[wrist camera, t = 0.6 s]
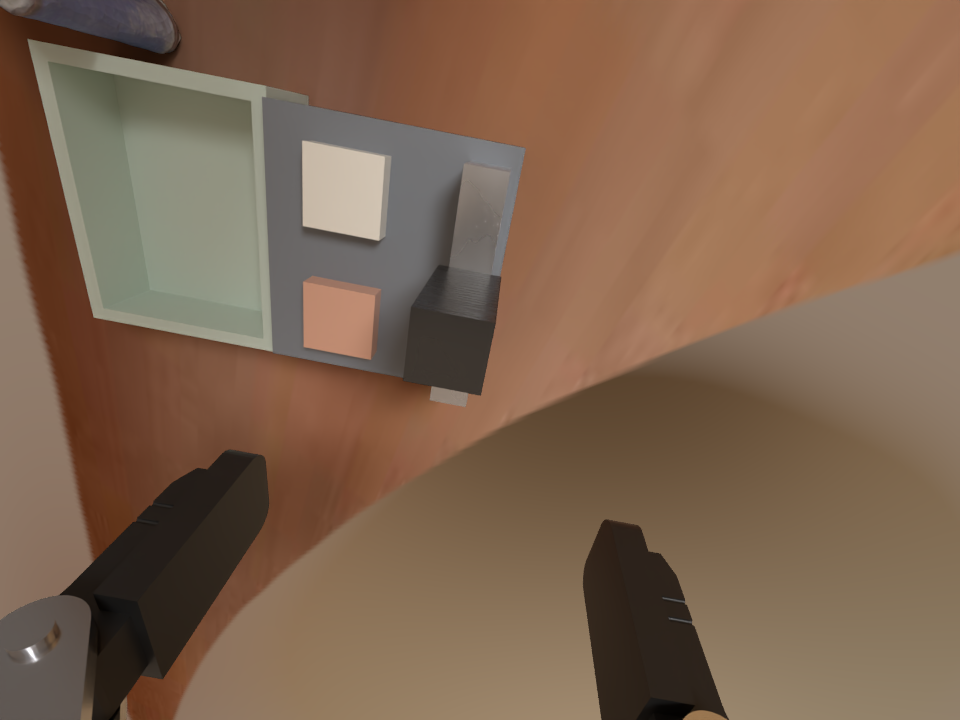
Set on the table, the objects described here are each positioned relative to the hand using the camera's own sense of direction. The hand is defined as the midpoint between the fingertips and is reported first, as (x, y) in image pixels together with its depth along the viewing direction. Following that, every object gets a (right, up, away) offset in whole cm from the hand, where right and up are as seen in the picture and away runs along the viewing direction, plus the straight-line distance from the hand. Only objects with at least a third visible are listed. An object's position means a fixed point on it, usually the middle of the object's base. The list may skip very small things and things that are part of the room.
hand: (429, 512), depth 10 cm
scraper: (+1, +8, +14) cm, 16 cm away
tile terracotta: (-7, +6, +16) cm, 18 cm away
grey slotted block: (-4, +12, +19) cm, 23 cm away
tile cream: (-6, +12, +12) cm, 18 cm away
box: (-16, +14, +19) cm, 29 cm away
